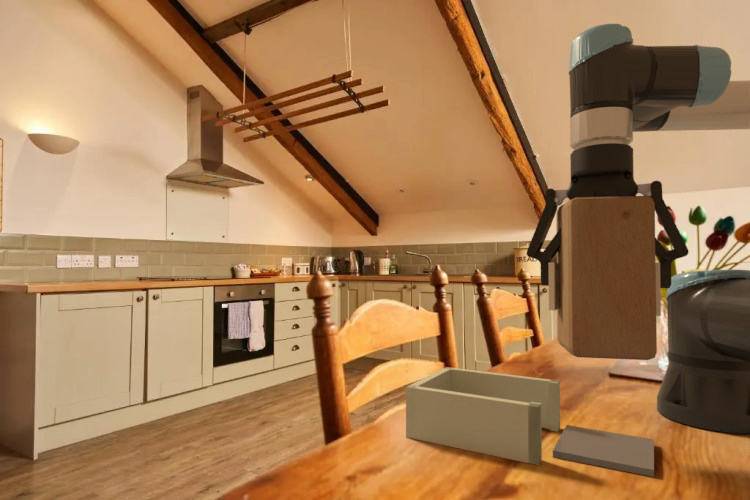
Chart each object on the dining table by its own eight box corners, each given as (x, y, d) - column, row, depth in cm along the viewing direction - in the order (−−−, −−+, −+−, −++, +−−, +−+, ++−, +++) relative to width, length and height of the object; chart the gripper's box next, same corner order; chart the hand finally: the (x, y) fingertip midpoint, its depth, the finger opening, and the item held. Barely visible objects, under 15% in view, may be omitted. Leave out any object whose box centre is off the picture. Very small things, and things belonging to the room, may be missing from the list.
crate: (560, 428, 70) (559, 380, 70) (538, 465, 57) (538, 406, 57) (446, 408, 79) (446, 367, 79) (406, 437, 66) (406, 386, 66)
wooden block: (660, 362, 56) (657, 194, 56) (570, 358, 58) (569, 196, 58) (631, 347, 66) (630, 204, 66) (556, 344, 68) (555, 206, 68)
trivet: (654, 445, 63) (653, 439, 63) (653, 477, 54) (653, 470, 54) (566, 430, 69) (566, 424, 69) (552, 456, 59) (552, 450, 59)
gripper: (707, 142, 60) (710, 314, 59) (516, 163, 72) (517, 305, 71) (714, 128, 53) (718, 320, 53) (503, 152, 65) (504, 309, 65)
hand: (602, 312), depth 62 cm, fingers closed on wooden block, 12 cm apart
